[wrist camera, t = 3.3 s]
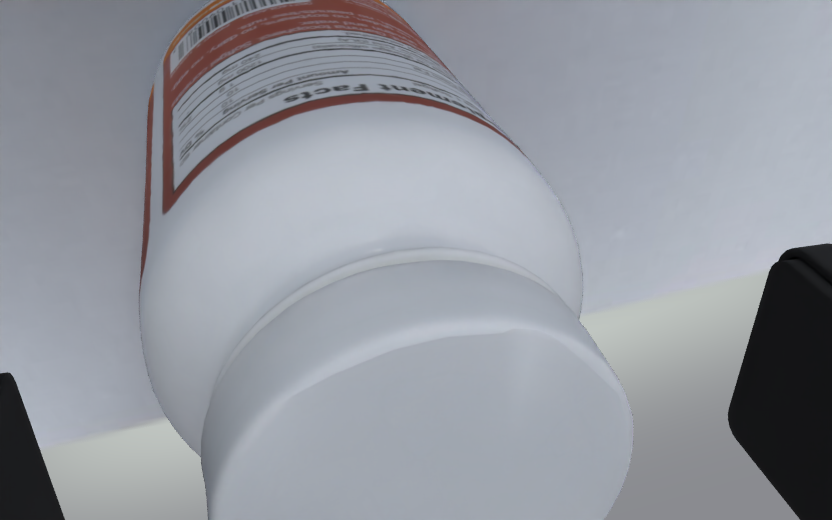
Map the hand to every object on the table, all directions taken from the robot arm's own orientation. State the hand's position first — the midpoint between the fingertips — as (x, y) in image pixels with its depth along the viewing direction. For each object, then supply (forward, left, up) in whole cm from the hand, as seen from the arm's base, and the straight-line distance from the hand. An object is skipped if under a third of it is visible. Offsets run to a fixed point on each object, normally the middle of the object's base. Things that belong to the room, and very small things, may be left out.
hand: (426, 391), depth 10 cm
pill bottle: (0, 0, -10) cm, 10 cm away
